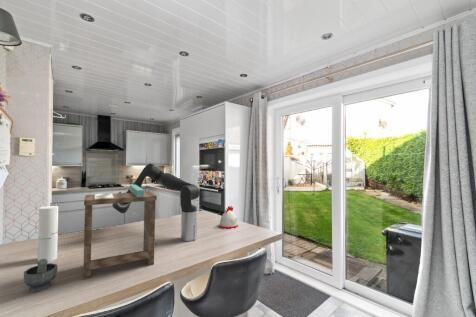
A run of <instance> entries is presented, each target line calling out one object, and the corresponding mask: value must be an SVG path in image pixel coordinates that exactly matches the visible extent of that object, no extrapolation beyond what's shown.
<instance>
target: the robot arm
mask: <svg viewBox="0 0 476 317" xmlns="http://www.w3.org/2000/svg"><path fill="white" fill-rule="evenodd" d="M147 177H148V179H151V180H153V181H155V182H158V183H160V185H162V186H163V187H165V188H167V189H168V190H172V191H175V192H179V195H180V196H179V197H180V198H179V202H180V204H179V205H180V209H181V210H180V211H181V212H180V213H181V217H180V220H181V221H180V240H181V241H184V242H190V241H196V239H197V234H198V232H197V231H198V230H197V229H198V222H197V213H198V212H197V205H194V204H192V201H194V200H196V199H198V198H199V197H200V195H201V190H200V188H199V187H198V186H197V185H195V184H193V183H190V182H187V181H184V180H183V179H182V178H179V177H177V176H176V175H173V174H171V173H166V172H164V171H163V170H161V169H160V168H159V167H158V166H156V165H154V164H153V163H148V164H146V165H145V166H144V167H143V169H142V170H141V172H140V173H139V175H137V177H136V179H135V181H134V182H133V184H132V185H137V186H139V187H140V188H142V186H143V182H144V181H145V179H146V178H147ZM118 193H122V192H121V191H119V192H118ZM125 193H132V192H131V191H130V188H129V189H128V190H127V191H126V192H125ZM131 204H132V202H126V203H112V208H113V209H114V210H116V211H117V212H118V213H120V214H124V213H125V214H126V213H127V211H129V208H130V206H131Z"/></svg>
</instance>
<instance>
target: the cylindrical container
mask: <svg viewBox="0 0 476 317" xmlns="http://www.w3.org/2000/svg"><path fill="white" fill-rule="evenodd" d="M38 210H39V211H38V235H37V236H38V240H37V241H38V243H37V262H38V261H39V260H41V259H47V260H48V263H49V262H52V261H55V260H56V259H57V258H58V238H59V235H58V234H59V232H58V231H59V205H47V206H41V207H39V209H38Z"/></svg>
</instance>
